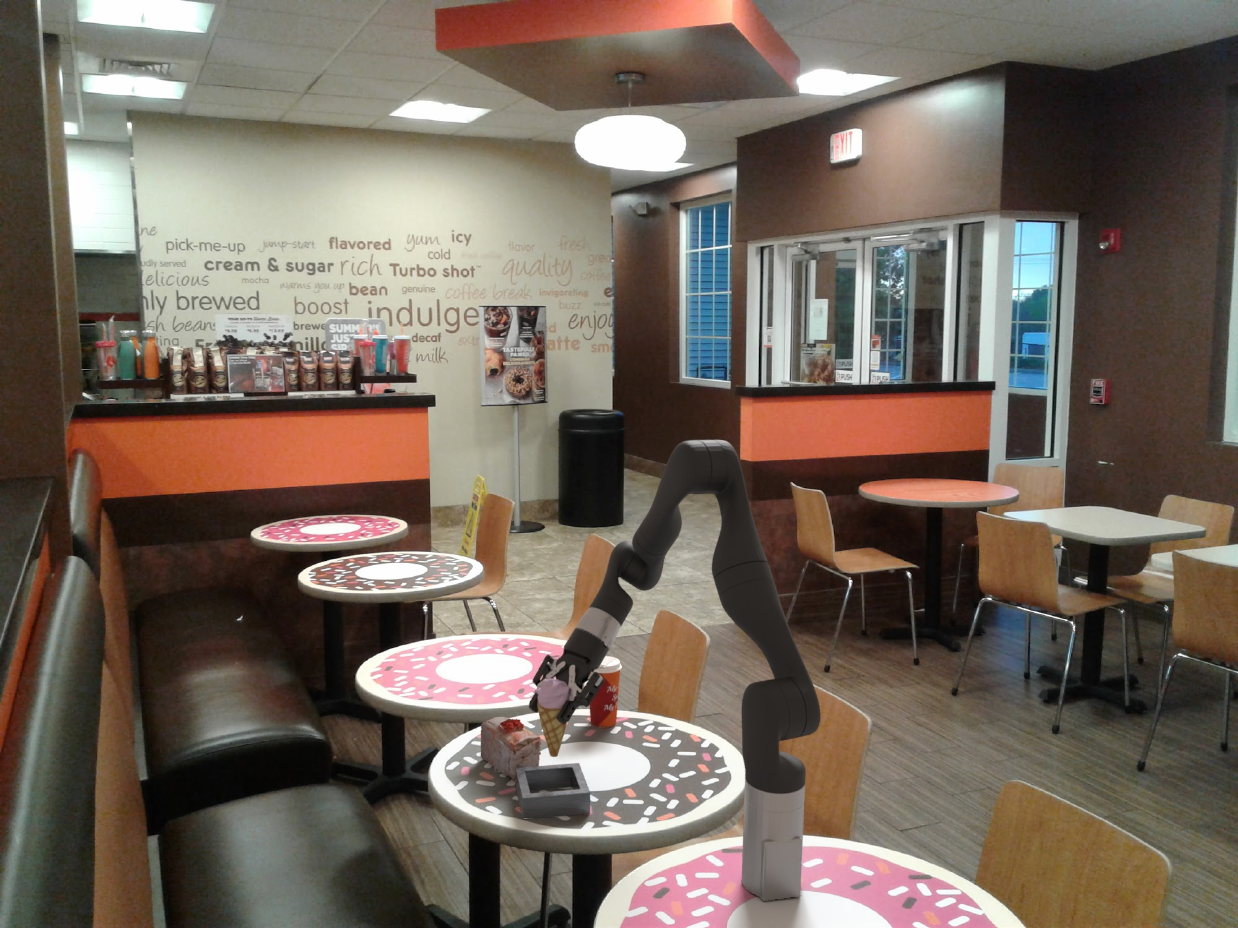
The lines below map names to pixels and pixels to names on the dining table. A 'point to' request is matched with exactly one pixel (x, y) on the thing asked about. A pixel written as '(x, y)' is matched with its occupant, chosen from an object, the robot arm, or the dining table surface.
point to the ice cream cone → (552, 712)
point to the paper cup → (606, 694)
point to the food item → (509, 745)
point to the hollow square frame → (552, 801)
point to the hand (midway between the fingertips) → (546, 715)
